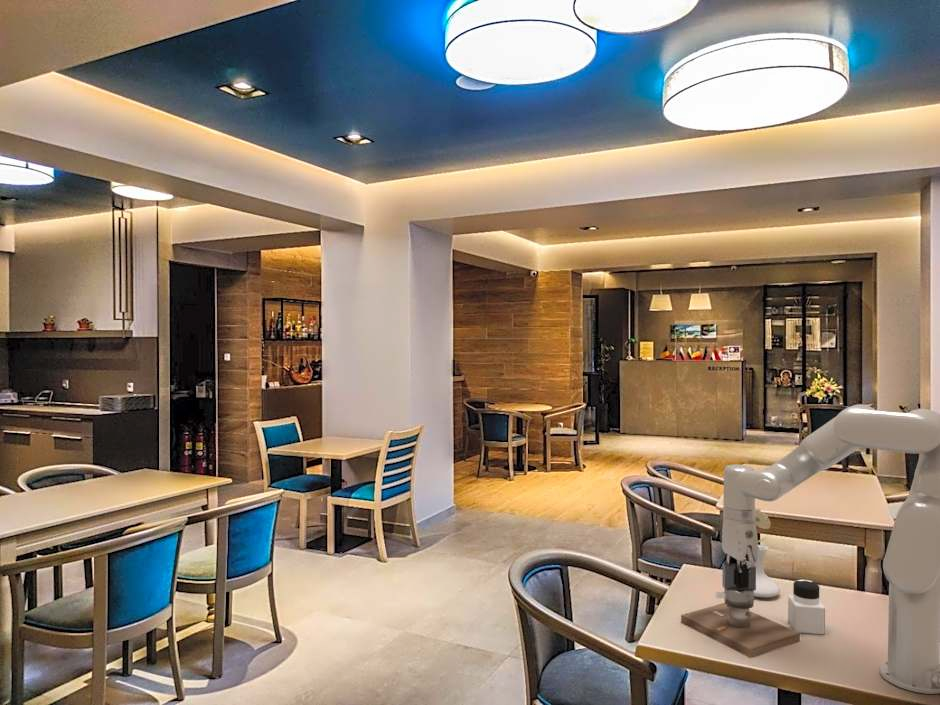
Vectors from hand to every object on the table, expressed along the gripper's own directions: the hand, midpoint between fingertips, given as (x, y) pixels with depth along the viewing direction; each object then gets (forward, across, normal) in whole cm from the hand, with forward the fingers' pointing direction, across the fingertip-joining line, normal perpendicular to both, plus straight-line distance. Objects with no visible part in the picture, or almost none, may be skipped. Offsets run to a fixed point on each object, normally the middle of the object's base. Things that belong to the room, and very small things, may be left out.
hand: (737, 583), depth 172 cm
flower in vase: (+13, +23, -20) cm, 33 cm away
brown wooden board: (+12, 0, 0) cm, 12 cm away
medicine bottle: (+13, -1, -19) cm, 23 cm away
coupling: (+5, 0, +1) cm, 5 cm away
